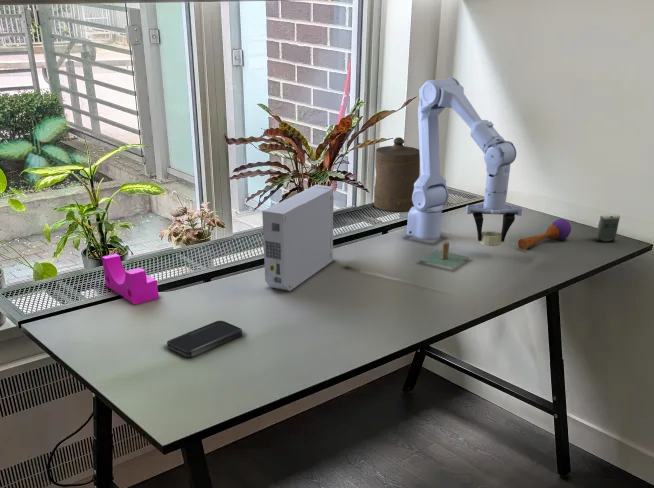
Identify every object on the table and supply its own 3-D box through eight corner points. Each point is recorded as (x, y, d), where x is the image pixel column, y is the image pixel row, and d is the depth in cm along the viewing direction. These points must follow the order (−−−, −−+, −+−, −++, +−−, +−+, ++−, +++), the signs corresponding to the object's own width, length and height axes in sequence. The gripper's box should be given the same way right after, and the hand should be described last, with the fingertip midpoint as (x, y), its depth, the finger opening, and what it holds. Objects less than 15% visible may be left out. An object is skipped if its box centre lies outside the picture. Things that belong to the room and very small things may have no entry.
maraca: (513, 233, 209) (558, 216, 219) (515, 253, 211) (559, 235, 221) (530, 235, 204) (574, 217, 214) (531, 255, 207) (575, 237, 217)
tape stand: (419, 263, 198) (420, 244, 195) (436, 253, 205) (437, 234, 202) (452, 271, 193) (454, 251, 190) (468, 260, 200) (470, 241, 198)
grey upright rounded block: (606, 245, 214) (611, 218, 210) (591, 240, 217) (596, 214, 213) (617, 241, 217) (622, 214, 213) (602, 236, 220) (607, 210, 216)
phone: (244, 329, 157) (188, 353, 147) (244, 334, 157) (189, 358, 147) (219, 319, 161) (164, 341, 151) (220, 324, 162) (164, 346, 152)
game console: (335, 260, 199) (335, 187, 189) (286, 294, 177) (284, 214, 167) (316, 257, 201) (315, 184, 191) (265, 290, 179) (262, 210, 169)
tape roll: (476, 243, 198) (477, 234, 197) (485, 238, 202) (486, 229, 201) (496, 247, 196) (497, 238, 195) (504, 242, 200) (505, 233, 199)
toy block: (158, 298, 174) (155, 268, 171) (134, 304, 171) (130, 274, 167) (129, 279, 184) (125, 251, 180) (106, 285, 180) (101, 256, 177)
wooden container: (394, 197, 255) (397, 131, 244) (426, 206, 246) (431, 138, 235) (364, 205, 246) (366, 137, 235) (397, 214, 237) (400, 144, 226)
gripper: (470, 193, 189) (465, 244, 196) (526, 195, 188) (519, 245, 195) (467, 186, 195) (462, 235, 202) (522, 188, 194) (515, 237, 201)
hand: (490, 240), depth 199 cm, fingers closed on tape roll, 5 cm apart
